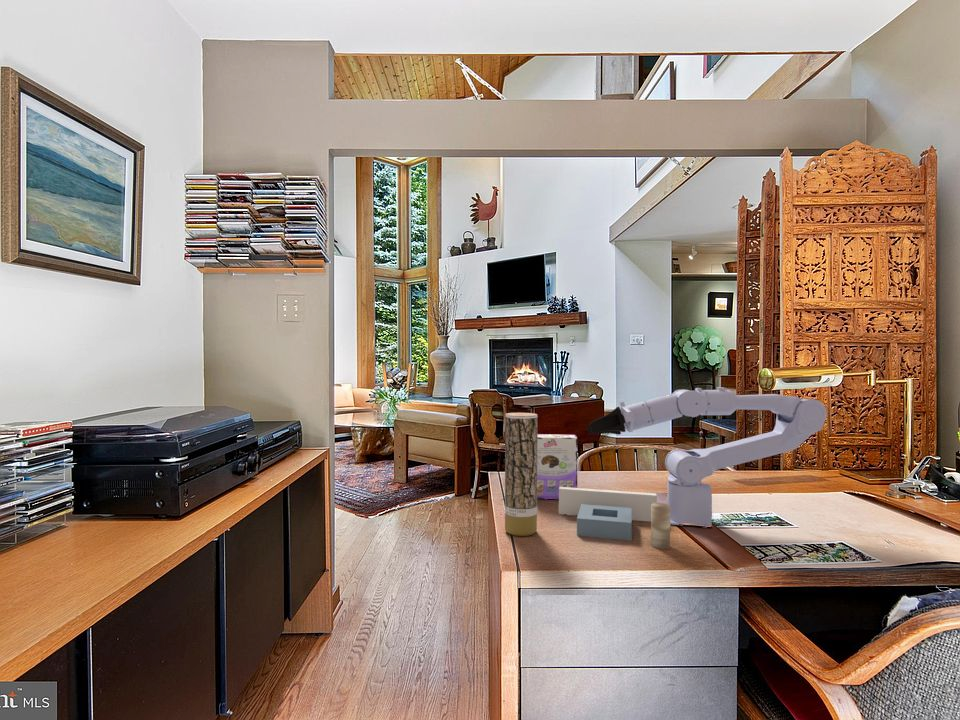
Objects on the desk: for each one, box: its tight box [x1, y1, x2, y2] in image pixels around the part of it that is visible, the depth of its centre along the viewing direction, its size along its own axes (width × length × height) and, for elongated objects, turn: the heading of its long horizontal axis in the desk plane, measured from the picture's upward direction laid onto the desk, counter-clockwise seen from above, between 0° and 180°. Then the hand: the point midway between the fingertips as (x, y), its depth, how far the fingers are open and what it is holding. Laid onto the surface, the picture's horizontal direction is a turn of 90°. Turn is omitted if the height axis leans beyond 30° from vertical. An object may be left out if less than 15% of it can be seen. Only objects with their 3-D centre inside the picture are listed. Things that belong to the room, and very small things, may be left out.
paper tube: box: [504, 412, 539, 537], centre depth 115 cm, size 7×7×25 cm
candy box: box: [537, 433, 578, 500], centre depth 143 cm, size 14×6×16 cm, turn 84°
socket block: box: [576, 504, 633, 542], centre depth 117 cm, size 11×11×4 cm
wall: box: [558, 487, 658, 523], centre depth 126 cm, size 22×2×6 cm, turn 75°
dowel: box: [650, 502, 671, 550], centre depth 107 cm, size 4×4×8 cm
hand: (589, 429), depth 124 cm, fingers open, 7 cm apart
